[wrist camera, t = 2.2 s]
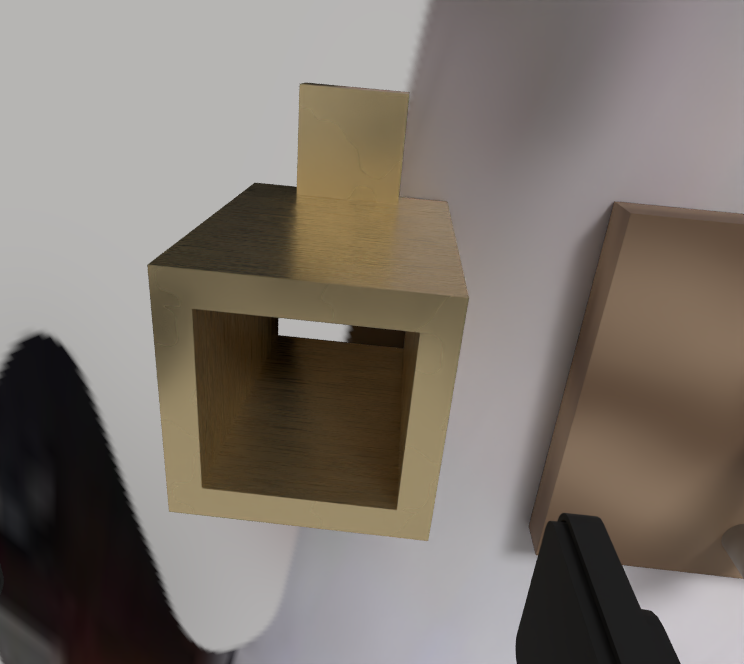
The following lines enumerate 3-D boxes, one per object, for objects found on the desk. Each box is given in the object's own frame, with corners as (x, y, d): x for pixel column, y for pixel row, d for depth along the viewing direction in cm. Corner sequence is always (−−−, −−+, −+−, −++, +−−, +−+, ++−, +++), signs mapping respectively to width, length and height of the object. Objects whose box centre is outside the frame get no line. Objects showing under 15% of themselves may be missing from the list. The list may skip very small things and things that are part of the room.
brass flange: (254, 77, 17) (132, 91, 10) (461, 97, 17) (497, 125, 9) (255, 423, 22) (177, 602, 15) (413, 440, 22) (413, 630, 14)
